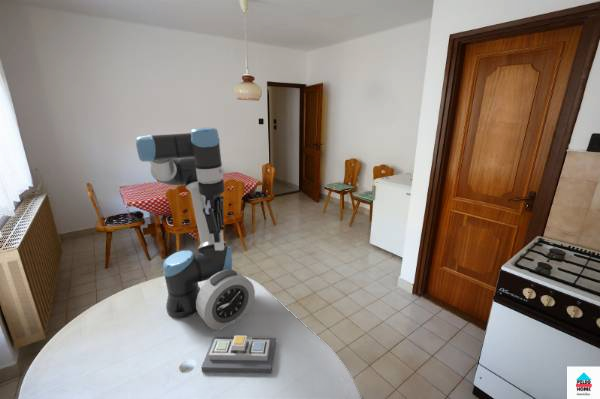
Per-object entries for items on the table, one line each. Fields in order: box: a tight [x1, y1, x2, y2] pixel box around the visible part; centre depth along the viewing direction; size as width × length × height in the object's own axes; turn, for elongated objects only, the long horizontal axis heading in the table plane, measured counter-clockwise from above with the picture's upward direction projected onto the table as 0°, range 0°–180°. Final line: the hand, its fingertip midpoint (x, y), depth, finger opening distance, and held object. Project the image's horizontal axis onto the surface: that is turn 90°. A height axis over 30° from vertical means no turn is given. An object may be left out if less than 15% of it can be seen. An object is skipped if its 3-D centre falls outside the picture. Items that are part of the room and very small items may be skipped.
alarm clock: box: [196, 269, 256, 331], centre depth 108 cm, size 21×8×20 cm, turn 132°
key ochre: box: [232, 335, 248, 350], centre depth 92 cm, size 4×4×2 cm
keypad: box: [201, 336, 277, 374], centre depth 93 cm, size 22×12×4 cm, turn 88°
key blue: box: [251, 342, 265, 354], centre depth 92 cm, size 4×4×2 cm
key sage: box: [214, 341, 230, 353], centre depth 93 cm, size 4×4×2 cm
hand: (219, 249), depth 93 cm, fingers closed
